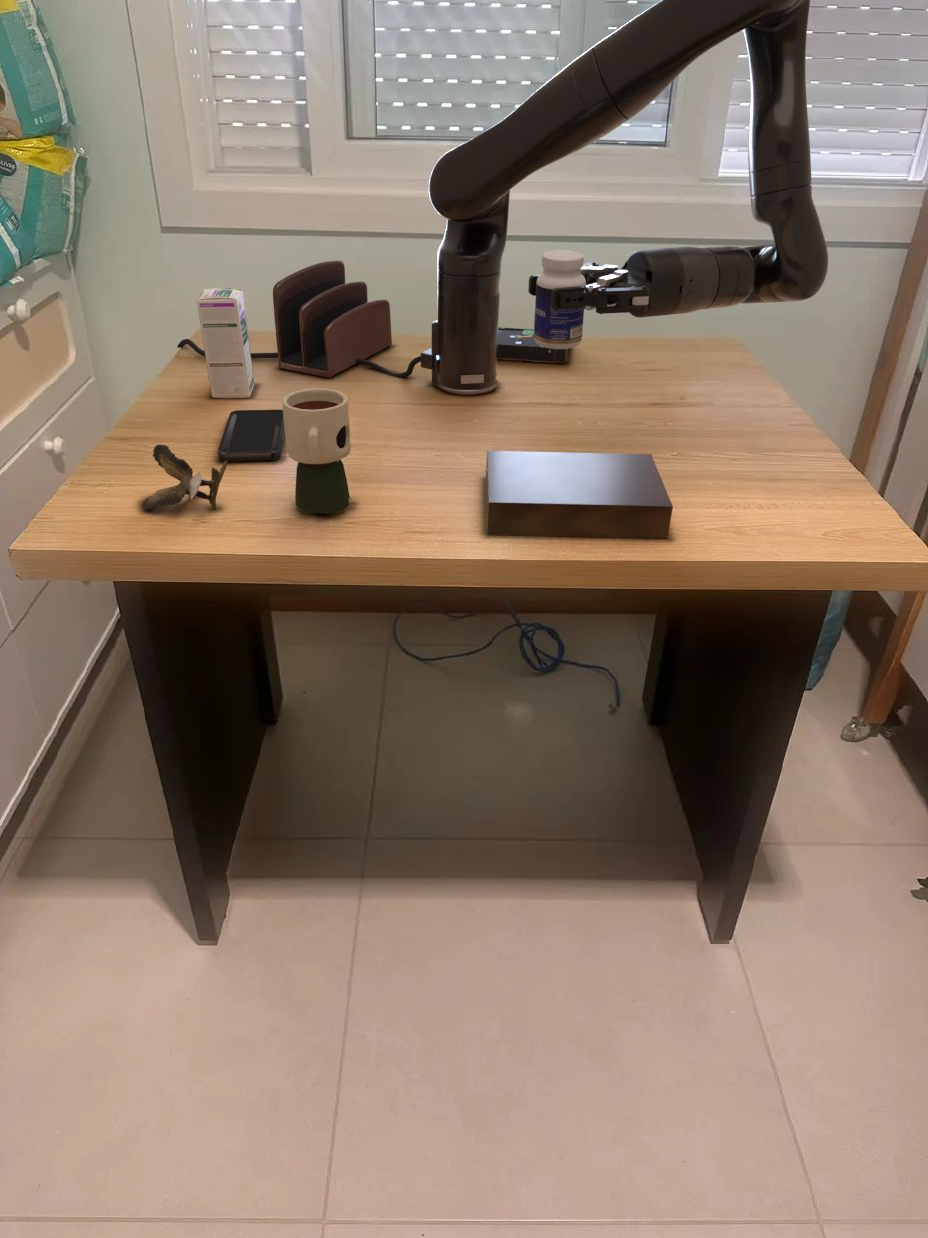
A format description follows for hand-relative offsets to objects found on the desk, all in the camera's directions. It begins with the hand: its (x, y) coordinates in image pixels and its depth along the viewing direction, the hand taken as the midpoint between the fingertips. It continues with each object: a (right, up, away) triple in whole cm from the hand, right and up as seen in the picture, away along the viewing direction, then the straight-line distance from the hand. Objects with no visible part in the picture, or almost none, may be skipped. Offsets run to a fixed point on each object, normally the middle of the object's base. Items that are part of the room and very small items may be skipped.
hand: (541, 292), depth 101 cm
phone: (-37, -13, +18) cm, 43 cm away
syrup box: (-44, -3, +33) cm, 55 cm away
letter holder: (-30, +6, +47) cm, 57 cm away
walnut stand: (+4, -24, +3) cm, 25 cm away
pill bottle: (+2, -5, +4) cm, 7 cm away
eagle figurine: (-41, -24, +2) cm, 48 cm away
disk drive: (+2, +8, +52) cm, 52 cm away
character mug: (-25, -24, +2) cm, 35 cm away
